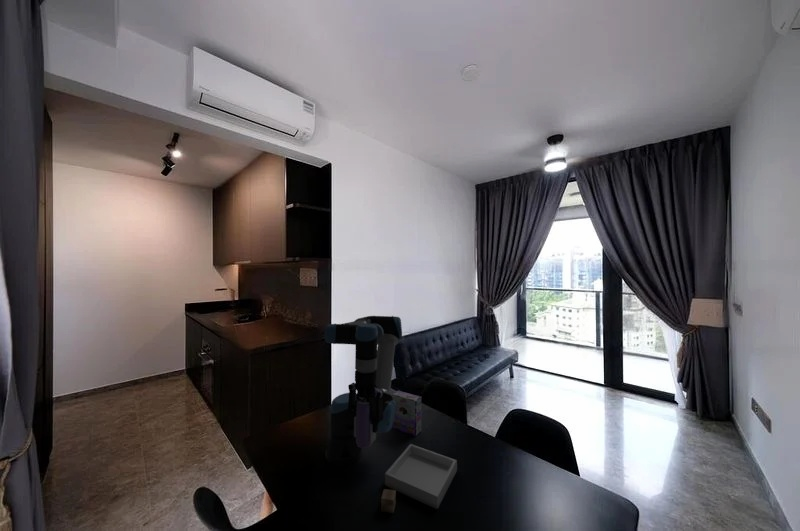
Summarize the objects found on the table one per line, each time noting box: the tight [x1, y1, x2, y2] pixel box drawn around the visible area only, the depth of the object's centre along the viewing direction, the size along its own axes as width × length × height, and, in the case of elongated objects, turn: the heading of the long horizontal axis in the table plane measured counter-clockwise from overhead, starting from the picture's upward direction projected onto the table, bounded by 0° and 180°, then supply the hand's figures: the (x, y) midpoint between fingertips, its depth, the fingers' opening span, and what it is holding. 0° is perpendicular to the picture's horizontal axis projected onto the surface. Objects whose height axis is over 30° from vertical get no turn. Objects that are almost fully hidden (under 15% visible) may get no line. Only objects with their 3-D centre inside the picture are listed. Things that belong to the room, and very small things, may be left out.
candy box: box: [391, 390, 422, 437], centre depth 132 cm, size 14×6×16 cm, turn 58°
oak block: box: [380, 488, 397, 514], centre depth 88 cm, size 4×4×4 cm
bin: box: [384, 443, 458, 511], centre depth 100 cm, size 20×20×4 cm
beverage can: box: [356, 397, 374, 449], centre depth 93 cm, size 6×6×15 cm
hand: (364, 437), depth 93 cm, fingers closed on beverage can, 6 cm apart
